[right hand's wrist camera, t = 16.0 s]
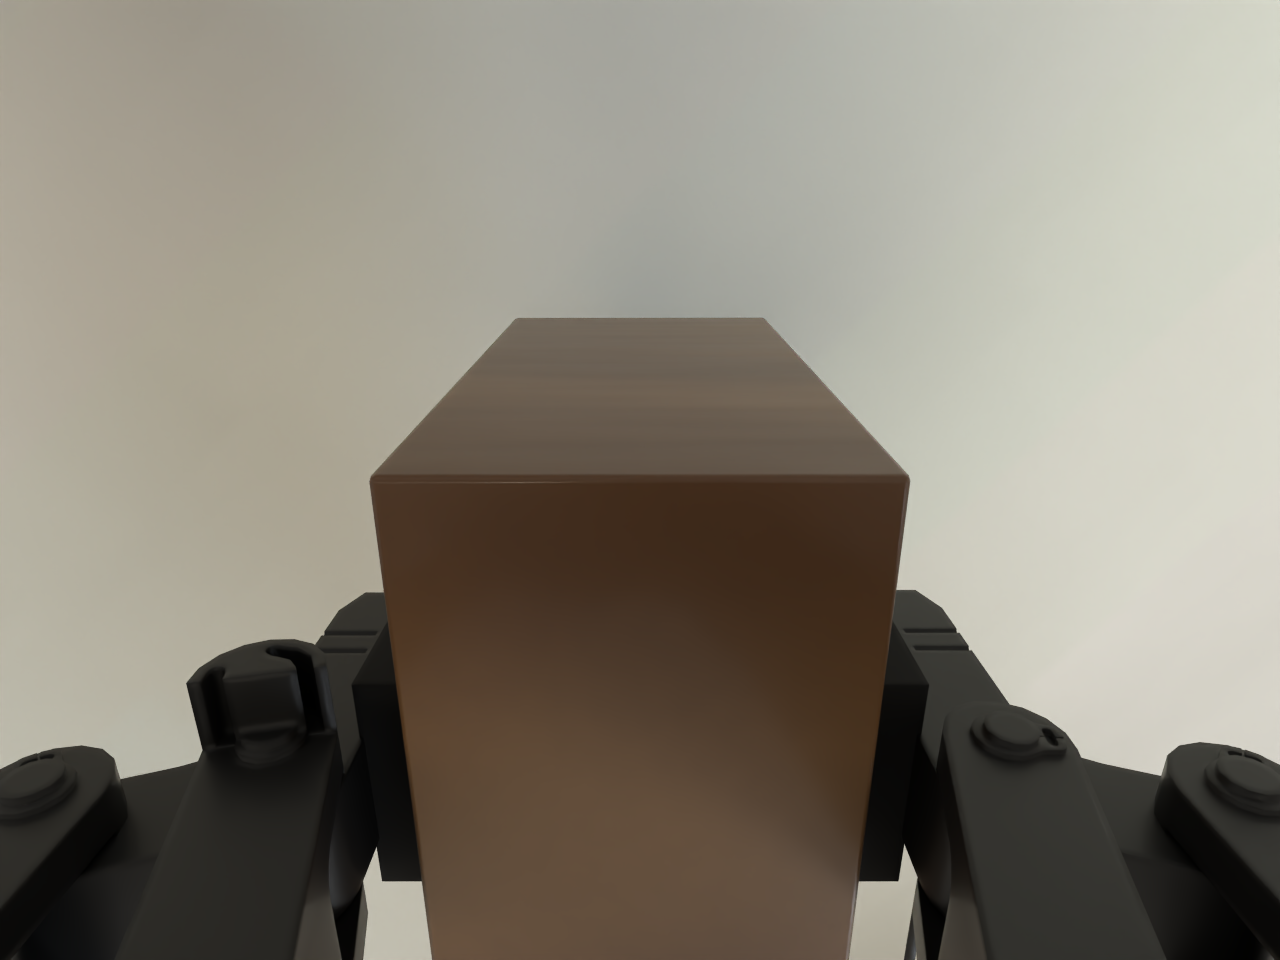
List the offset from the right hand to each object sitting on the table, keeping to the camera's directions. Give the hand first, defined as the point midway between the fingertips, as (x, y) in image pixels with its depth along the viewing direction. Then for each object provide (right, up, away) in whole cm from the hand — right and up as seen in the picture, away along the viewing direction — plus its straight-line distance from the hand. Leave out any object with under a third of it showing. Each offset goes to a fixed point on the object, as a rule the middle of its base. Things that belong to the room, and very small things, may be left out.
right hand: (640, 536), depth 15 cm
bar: (0, -9, +4) cm, 10 cm away
